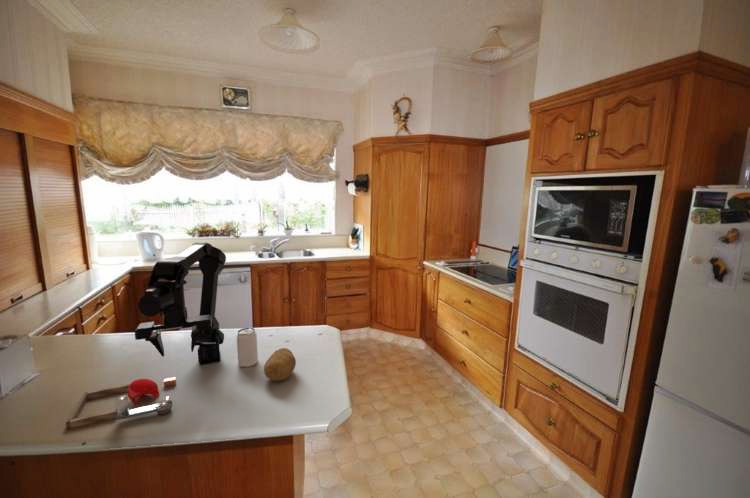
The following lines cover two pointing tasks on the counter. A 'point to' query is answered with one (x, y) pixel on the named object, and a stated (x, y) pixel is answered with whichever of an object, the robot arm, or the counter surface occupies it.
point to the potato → (280, 365)
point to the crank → (124, 411)
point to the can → (247, 347)
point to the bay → (76, 422)
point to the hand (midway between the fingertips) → (178, 353)
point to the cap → (142, 389)
